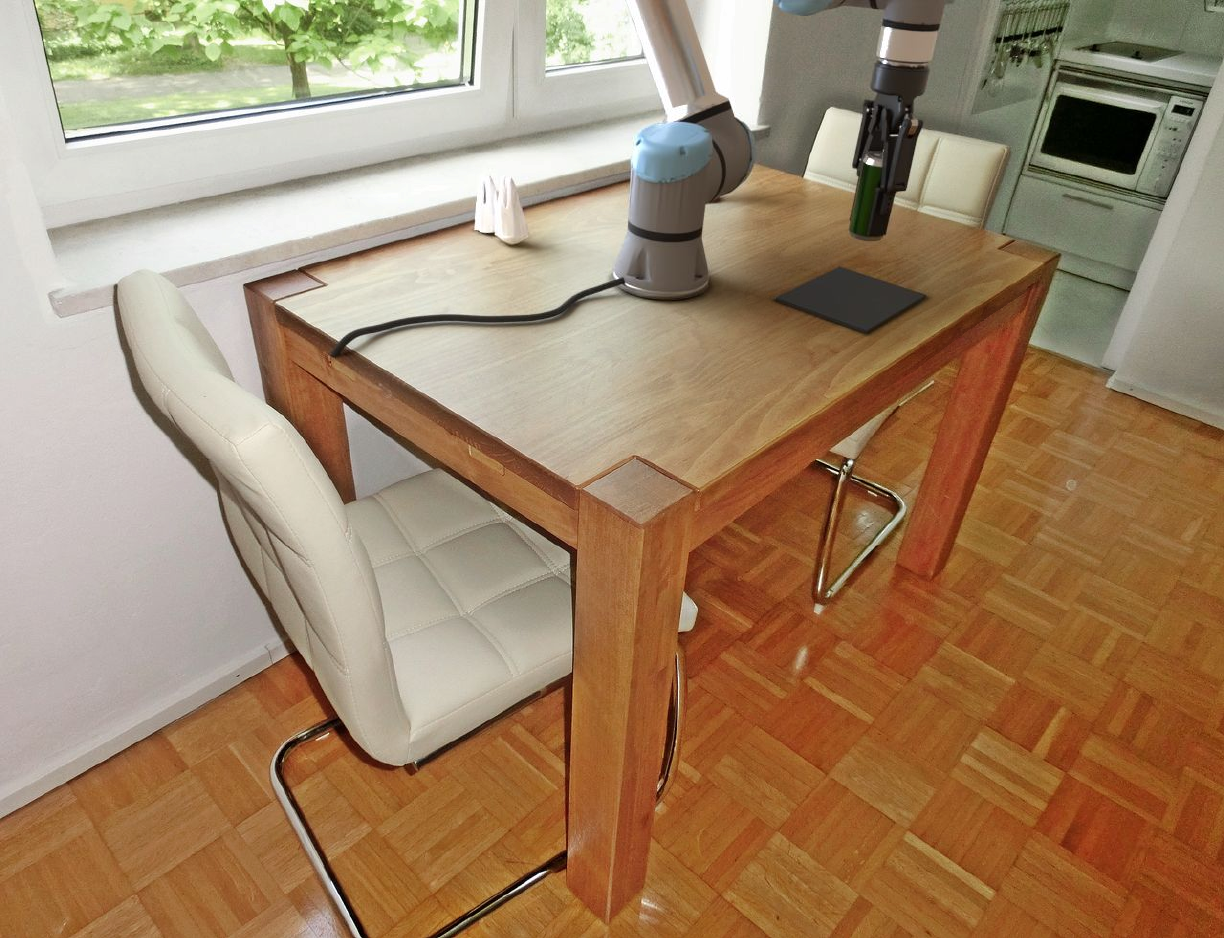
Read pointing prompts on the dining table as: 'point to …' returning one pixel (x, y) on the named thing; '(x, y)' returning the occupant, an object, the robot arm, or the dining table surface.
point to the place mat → (851, 299)
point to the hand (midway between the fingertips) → (867, 227)
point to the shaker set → (500, 211)
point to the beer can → (866, 196)
